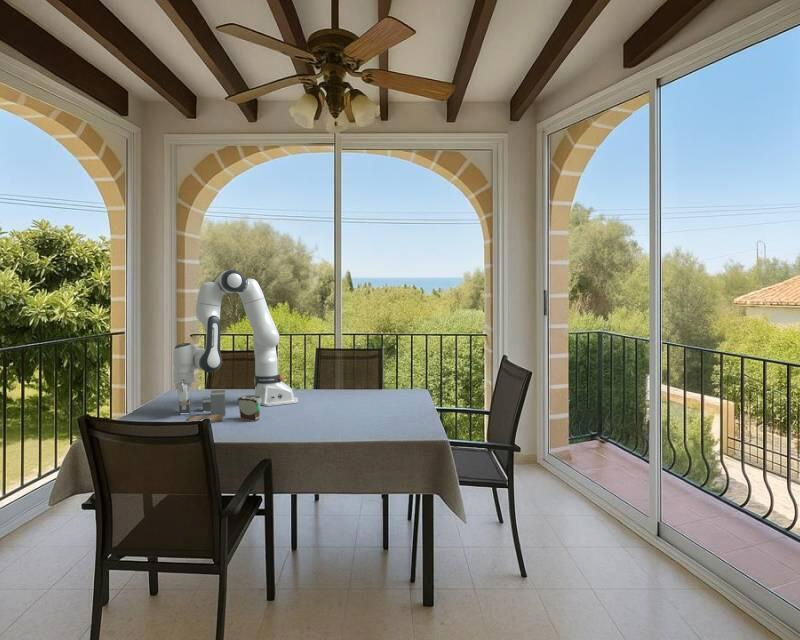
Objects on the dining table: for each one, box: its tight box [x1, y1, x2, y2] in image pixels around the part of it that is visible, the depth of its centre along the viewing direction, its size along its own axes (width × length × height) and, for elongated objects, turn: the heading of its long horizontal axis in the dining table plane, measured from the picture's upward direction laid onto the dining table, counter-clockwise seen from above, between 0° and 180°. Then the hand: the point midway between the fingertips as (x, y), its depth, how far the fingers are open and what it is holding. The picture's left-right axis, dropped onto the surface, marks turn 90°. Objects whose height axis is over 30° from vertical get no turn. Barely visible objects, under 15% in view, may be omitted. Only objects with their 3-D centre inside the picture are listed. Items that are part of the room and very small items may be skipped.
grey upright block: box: [210, 389, 226, 417], centre depth 246 cm, size 6×6×11 cm
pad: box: [187, 414, 224, 424], centre depth 236 cm, size 14×10×1 cm
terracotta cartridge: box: [178, 398, 191, 414], centre depth 249 cm, size 4×4×6 cm
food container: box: [237, 394, 262, 422], centre depth 239 cm, size 12×6×10 cm, turn 59°
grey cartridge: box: [202, 396, 211, 412], centre depth 255 cm, size 4×4×6 cm
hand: (184, 407), depth 249 cm, fingers open, 6 cm apart
